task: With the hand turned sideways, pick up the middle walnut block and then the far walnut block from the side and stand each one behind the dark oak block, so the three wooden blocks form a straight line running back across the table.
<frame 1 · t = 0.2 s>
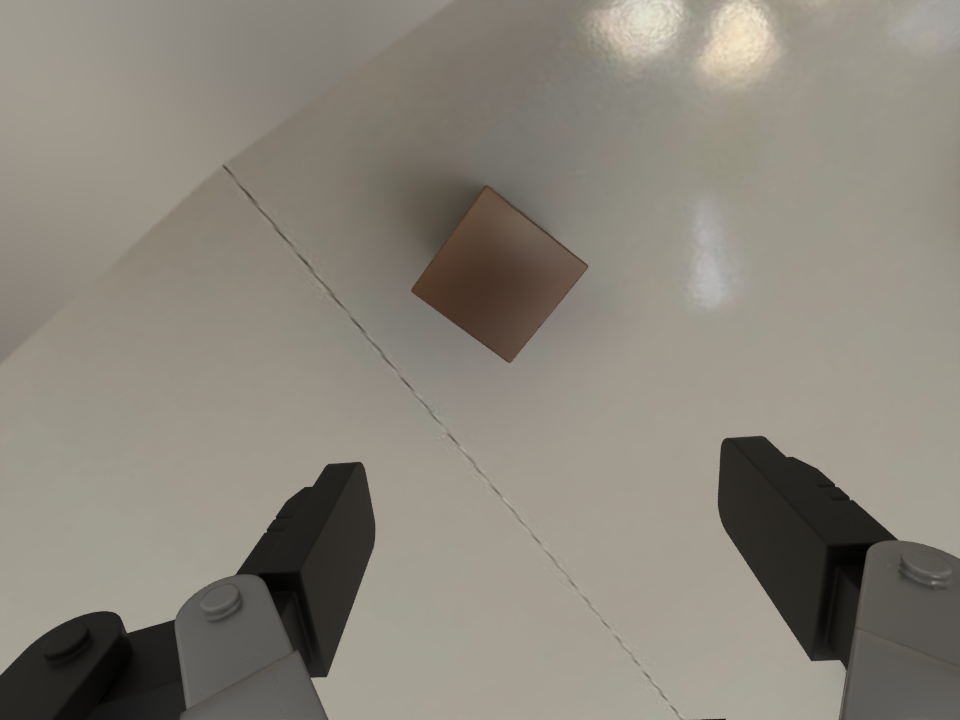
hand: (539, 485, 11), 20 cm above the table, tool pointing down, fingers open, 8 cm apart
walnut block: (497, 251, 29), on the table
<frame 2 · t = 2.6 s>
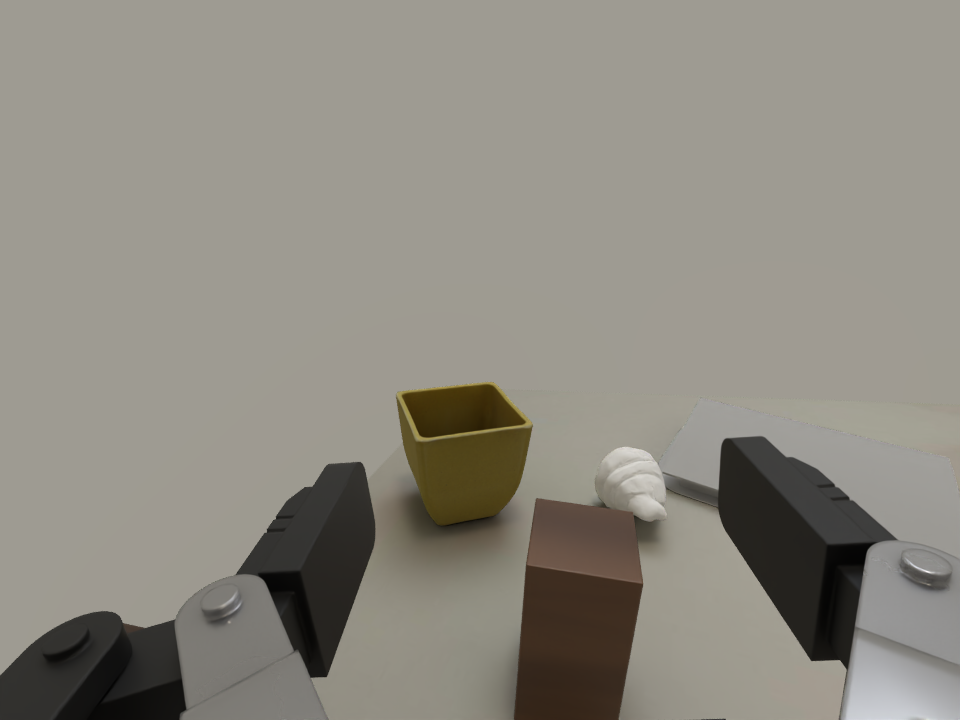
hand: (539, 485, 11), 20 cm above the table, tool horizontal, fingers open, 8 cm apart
walnut block middle: (565, 684, 28), on the table
book: (796, 488, 46), on the table
flower pot: (458, 505, 42), on the table
white swirl cone: (633, 521, 41), on the table
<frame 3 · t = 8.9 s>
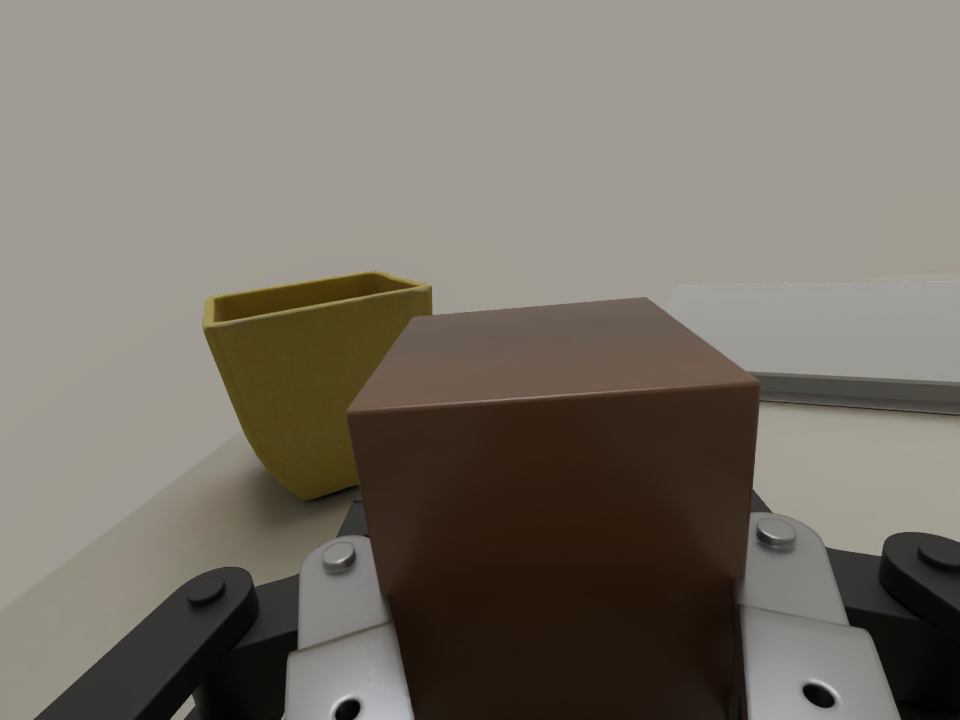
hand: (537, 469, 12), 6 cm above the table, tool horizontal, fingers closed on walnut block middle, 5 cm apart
book: (834, 363, 33), on the table
flower pot: (346, 469, 26), on the table
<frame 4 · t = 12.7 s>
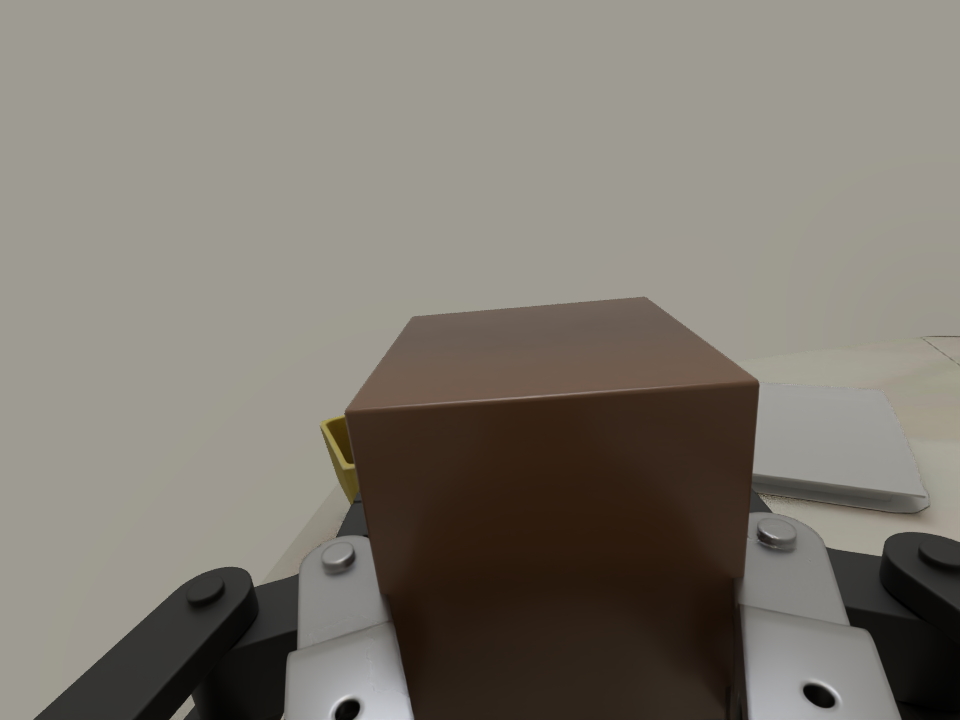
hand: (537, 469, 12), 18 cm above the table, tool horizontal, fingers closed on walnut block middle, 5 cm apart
book: (748, 447, 46), on the table
flower pot: (409, 532, 39), on the table
when the fingers open (6 cm above the table, at t = 16.6 s): walnut block middle stays where it is, on the table.
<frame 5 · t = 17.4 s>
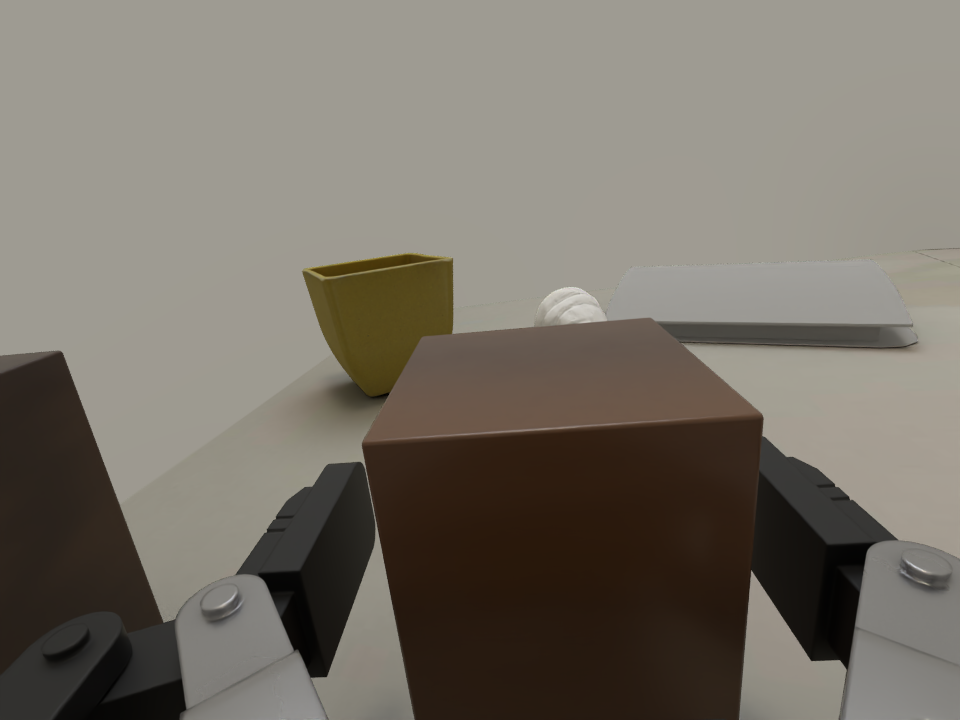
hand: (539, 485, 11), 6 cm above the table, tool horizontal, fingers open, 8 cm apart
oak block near: (33, 715, 15), on the table
book: (737, 320, 45), on the table
flower pot: (393, 384, 38), on the table
white swirl cone: (580, 363, 39), on the table
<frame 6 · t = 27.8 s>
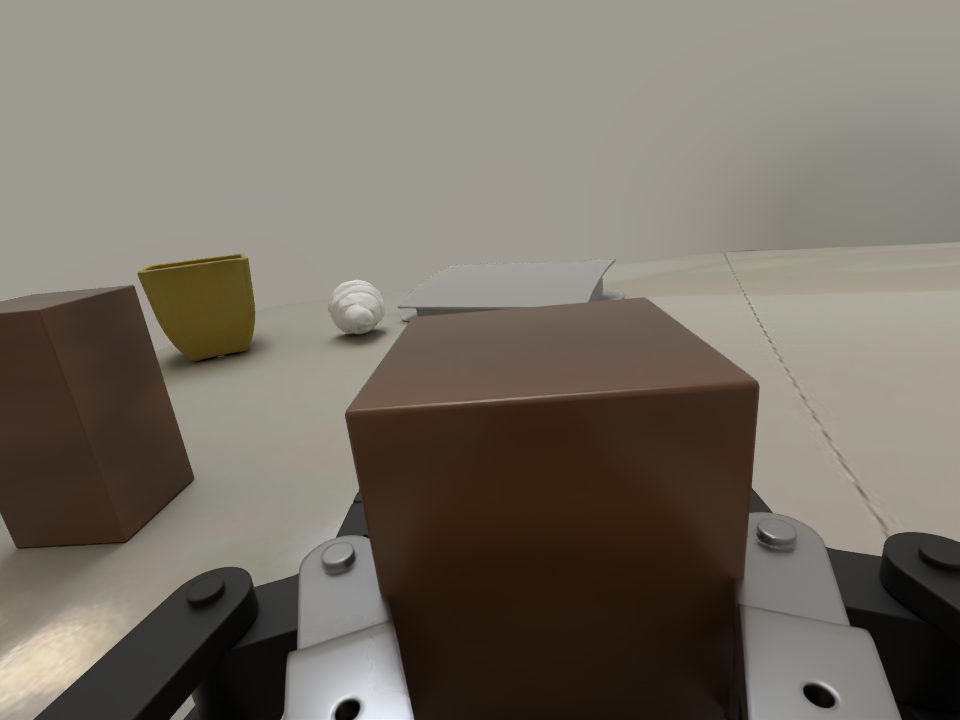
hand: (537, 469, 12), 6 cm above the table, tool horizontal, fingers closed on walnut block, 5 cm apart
walnut block middle: (113, 510, 24), on the table
book: (513, 307, 57), on the table
flower pot: (220, 353, 50), on the table
white swirl cone: (364, 338, 51), on the table
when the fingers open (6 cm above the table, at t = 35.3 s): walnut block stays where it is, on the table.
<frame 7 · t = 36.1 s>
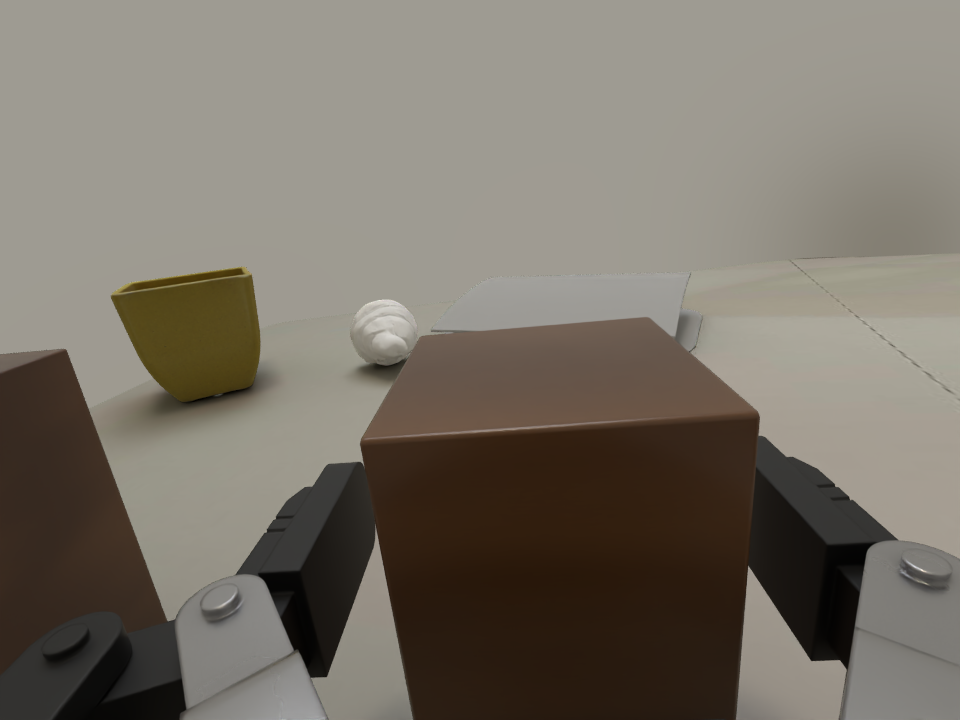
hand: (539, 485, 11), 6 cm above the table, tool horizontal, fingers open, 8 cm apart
walnut block middle: (37, 713, 15), on the table
book: (567, 329, 48), on the table
flower pot: (217, 390, 41), on the table
white swirl cone: (393, 371, 41), on the table
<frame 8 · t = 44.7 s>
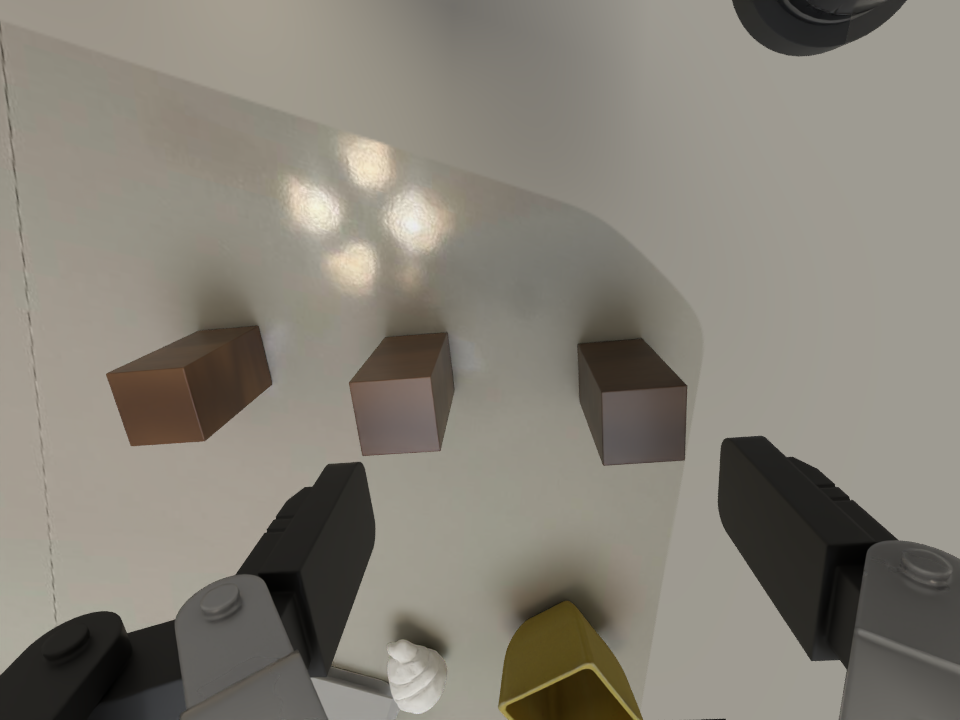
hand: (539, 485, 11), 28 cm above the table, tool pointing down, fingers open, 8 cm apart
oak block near: (610, 371, 40), on the table
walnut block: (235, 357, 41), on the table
walnut block middle: (420, 364, 41), on the table
book: (284, 706, 53), on the table
flower pot: (560, 625, 49), on the table
white swirl cone: (415, 641, 50), on the table
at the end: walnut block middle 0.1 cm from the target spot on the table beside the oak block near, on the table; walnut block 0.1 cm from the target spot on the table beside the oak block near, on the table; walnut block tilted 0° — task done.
